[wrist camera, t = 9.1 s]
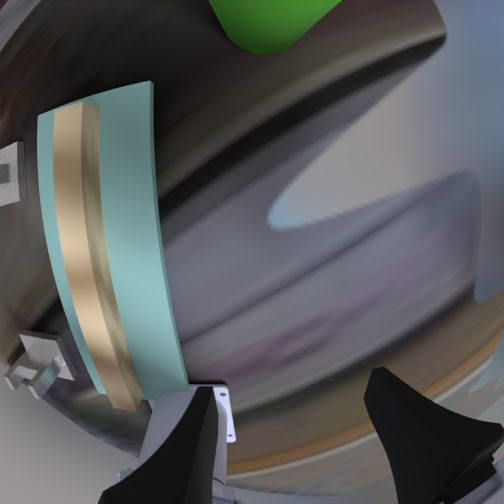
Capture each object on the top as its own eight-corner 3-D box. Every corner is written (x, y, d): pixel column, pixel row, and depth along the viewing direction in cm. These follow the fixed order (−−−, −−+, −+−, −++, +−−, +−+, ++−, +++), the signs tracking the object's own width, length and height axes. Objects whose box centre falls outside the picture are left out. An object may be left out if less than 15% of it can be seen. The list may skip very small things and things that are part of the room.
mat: (192, 396, 22) (191, 402, 22) (101, 388, 22) (98, 393, 21) (153, 83, 15) (150, 80, 14) (43, 116, 14) (38, 115, 14)
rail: (143, 393, 21) (137, 411, 19) (121, 390, 21) (113, 407, 19) (100, 107, 14) (82, 101, 12) (73, 115, 14) (54, 110, 12)
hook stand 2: (77, 374, 22) (53, 414, 16) (40, 366, 21) (15, 399, 16) (60, 335, 20) (28, 373, 14) (24, 329, 20) (-8, 360, 14)
